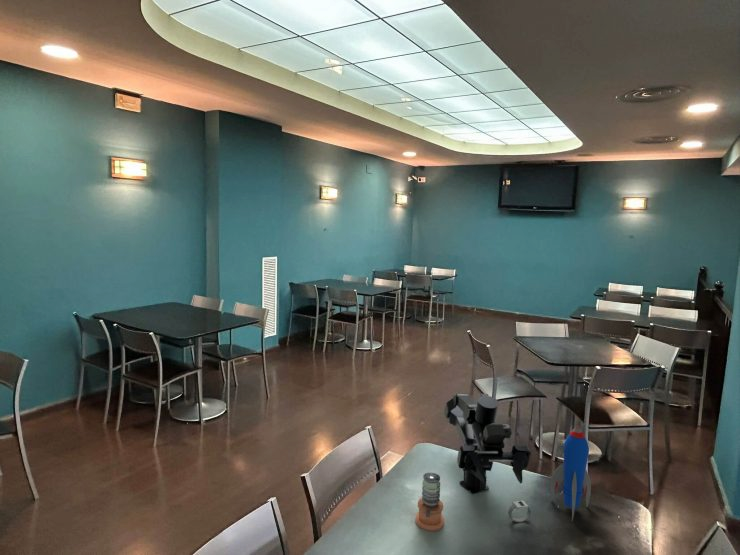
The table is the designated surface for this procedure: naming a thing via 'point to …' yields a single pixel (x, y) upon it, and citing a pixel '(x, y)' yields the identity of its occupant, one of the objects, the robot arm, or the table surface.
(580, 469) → the toy rocket
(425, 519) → the housing
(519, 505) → the wristwatch
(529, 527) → the table surface
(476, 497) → the table surface
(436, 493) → the grey ribbed cylinder
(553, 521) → the table surface
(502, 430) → the robot arm
